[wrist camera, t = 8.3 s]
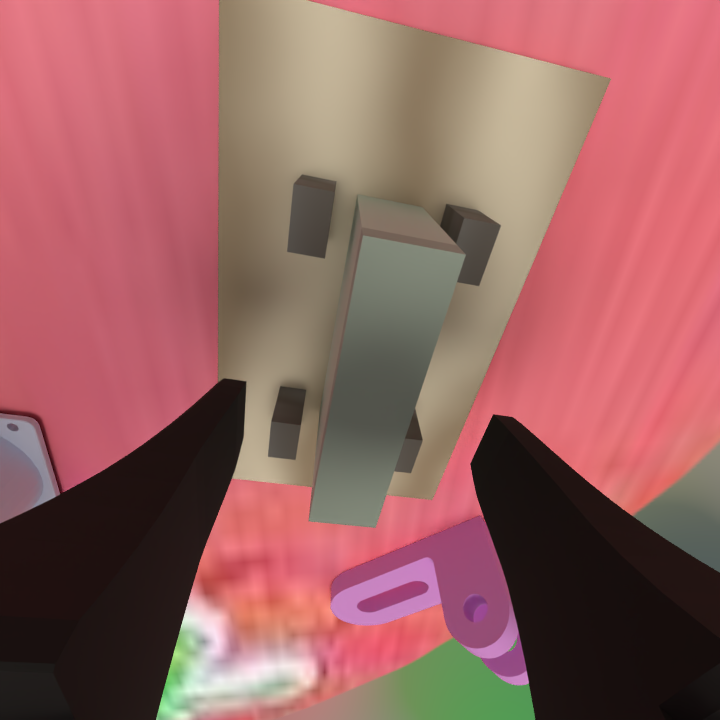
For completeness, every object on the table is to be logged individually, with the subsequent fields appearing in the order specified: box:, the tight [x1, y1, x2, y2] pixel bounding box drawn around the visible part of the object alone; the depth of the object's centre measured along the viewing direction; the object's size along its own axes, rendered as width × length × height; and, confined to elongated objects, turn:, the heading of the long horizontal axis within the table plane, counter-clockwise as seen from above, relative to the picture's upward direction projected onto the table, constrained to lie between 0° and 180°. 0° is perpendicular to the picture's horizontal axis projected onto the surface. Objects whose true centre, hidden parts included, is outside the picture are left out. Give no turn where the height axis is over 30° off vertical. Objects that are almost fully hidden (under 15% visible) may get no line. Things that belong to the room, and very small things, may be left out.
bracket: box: [331, 516, 529, 685], centre depth 25 cm, size 13×6×7 cm, turn 124°
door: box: [309, 194, 466, 528], centre depth 14 cm, size 2×10×6 cm, turn 169°
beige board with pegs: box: [218, 0, 611, 500], centre depth 16 cm, size 12×20×4 cm, turn 169°
